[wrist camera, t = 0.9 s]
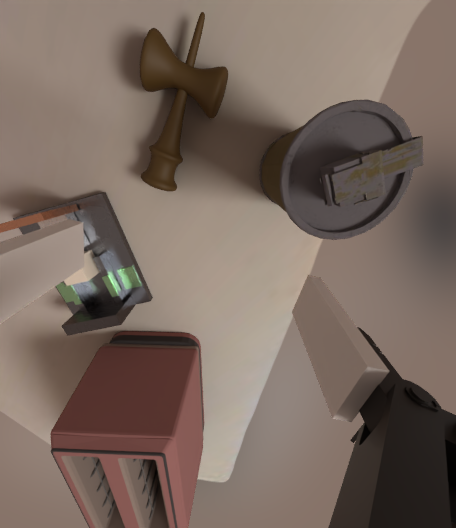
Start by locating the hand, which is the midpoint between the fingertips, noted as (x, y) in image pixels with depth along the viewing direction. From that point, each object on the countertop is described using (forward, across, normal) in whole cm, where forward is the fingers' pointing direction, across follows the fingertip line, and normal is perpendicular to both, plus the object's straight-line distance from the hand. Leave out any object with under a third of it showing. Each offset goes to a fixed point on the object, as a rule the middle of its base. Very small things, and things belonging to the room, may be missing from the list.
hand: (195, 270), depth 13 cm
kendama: (+26, -8, +10) cm, 29 cm away
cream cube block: (+24, -20, -15) cm, 35 cm away
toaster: (+25, -4, -45) cm, 52 cm away
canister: (+25, +10, +7) cm, 28 cm away
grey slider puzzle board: (+25, -20, -15) cm, 36 cm away
